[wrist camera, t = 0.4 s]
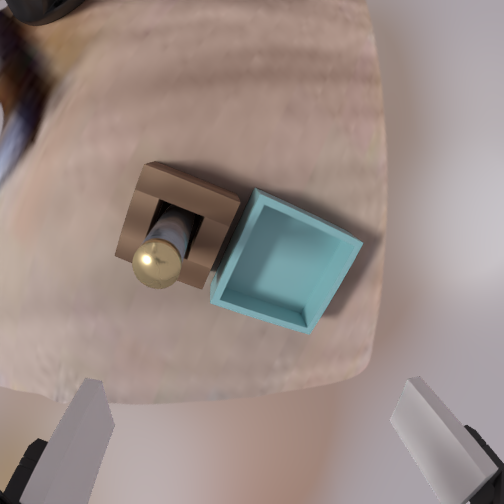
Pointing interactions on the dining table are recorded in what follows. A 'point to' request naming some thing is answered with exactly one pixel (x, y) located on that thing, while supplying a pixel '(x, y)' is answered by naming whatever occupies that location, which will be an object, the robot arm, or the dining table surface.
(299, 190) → the dining table surface
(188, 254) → the block
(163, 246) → the steel pin
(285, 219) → the pin tray
